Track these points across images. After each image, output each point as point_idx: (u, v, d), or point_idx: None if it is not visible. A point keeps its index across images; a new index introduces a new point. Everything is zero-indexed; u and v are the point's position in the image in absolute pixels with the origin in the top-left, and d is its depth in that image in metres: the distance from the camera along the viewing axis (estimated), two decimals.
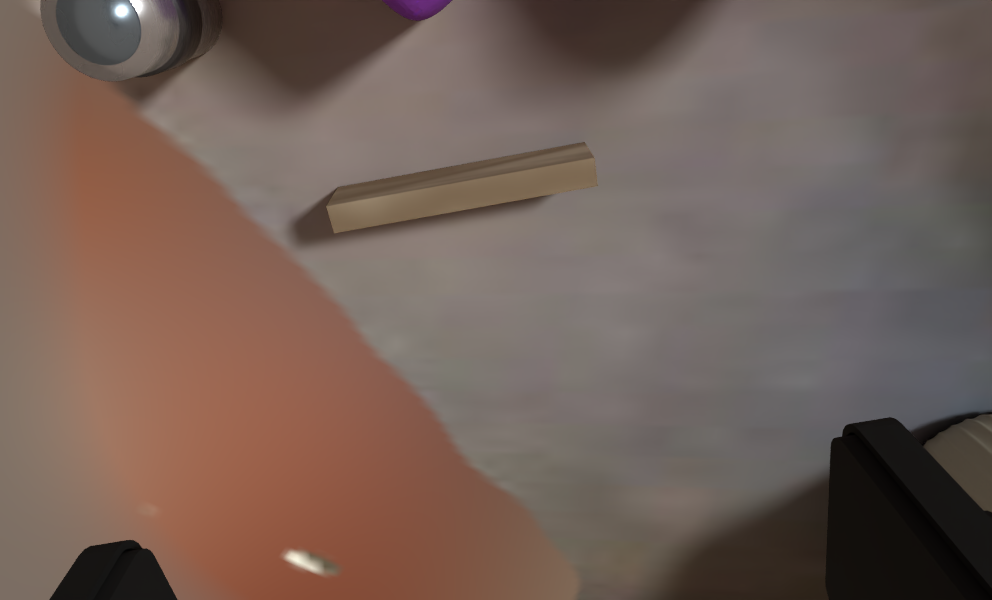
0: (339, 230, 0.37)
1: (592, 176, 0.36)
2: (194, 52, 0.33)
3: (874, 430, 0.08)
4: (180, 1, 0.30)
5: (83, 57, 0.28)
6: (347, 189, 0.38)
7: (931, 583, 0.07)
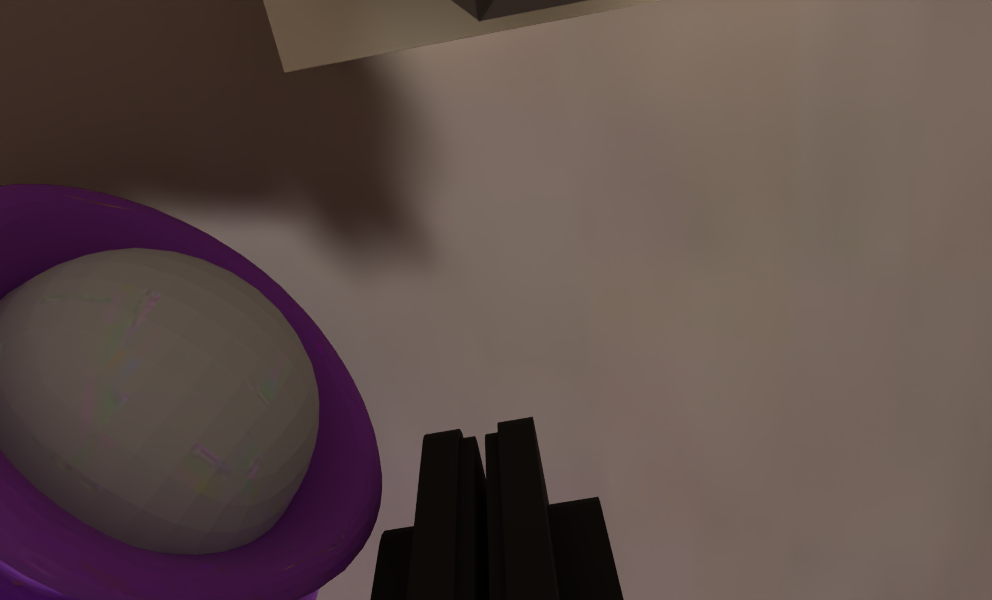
0: None
1: None
2: None
3: (509, 428, 0.10)
4: None
5: None
6: None
7: None
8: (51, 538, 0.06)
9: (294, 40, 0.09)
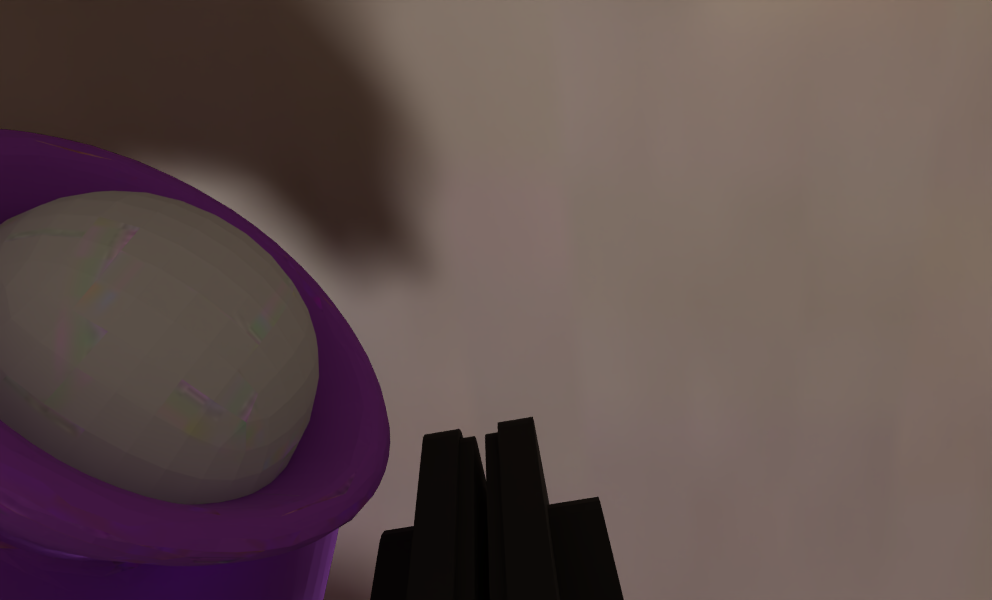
0: None
1: None
2: None
3: (509, 427, 0.10)
4: None
5: None
6: None
7: None
8: (22, 473, 0.06)
9: None
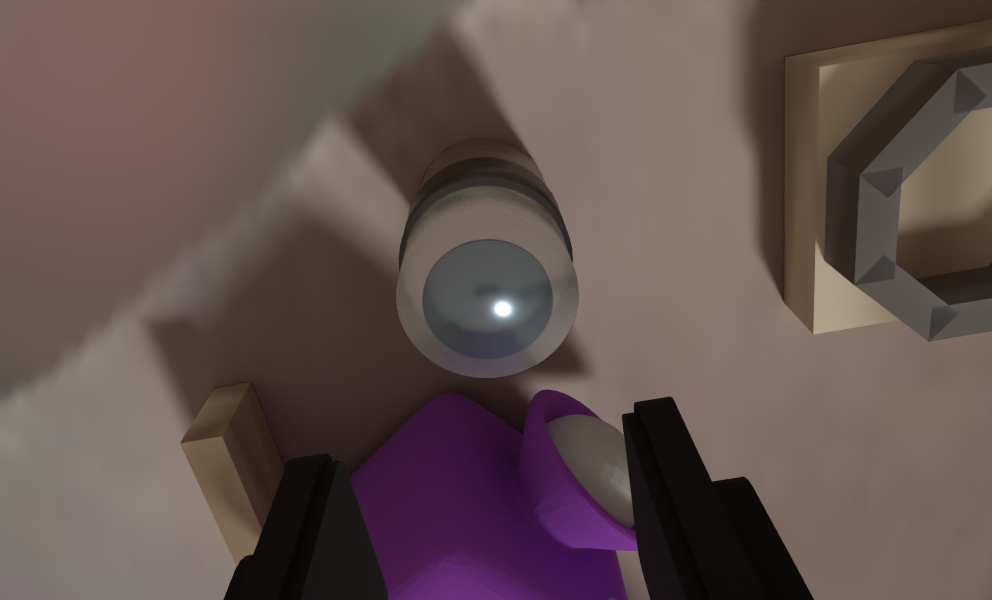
0: (186, 450, 0.24)
1: None
2: None
3: (650, 407, 0.10)
4: None
5: (432, 268, 0.17)
6: (250, 409, 0.27)
7: (658, 533, 0.08)
8: (616, 524, 0.21)
9: (820, 323, 0.24)
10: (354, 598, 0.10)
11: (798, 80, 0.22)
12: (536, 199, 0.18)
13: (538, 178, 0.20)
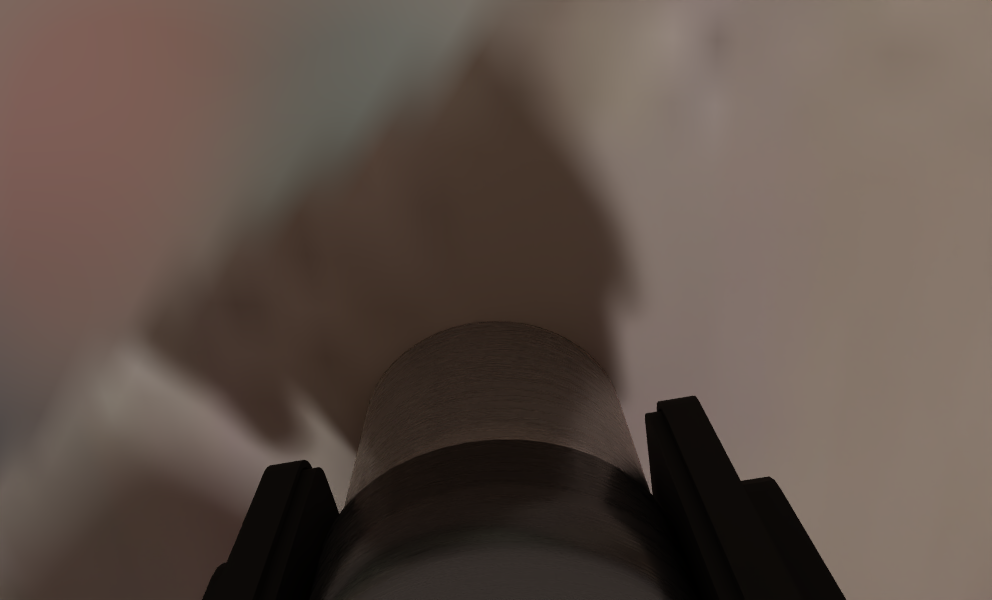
0: None
1: None
2: None
3: (675, 406, 0.09)
4: None
5: None
6: None
7: (687, 533, 0.08)
8: None
9: None
10: None
11: None
12: None
13: (635, 487, 0.08)
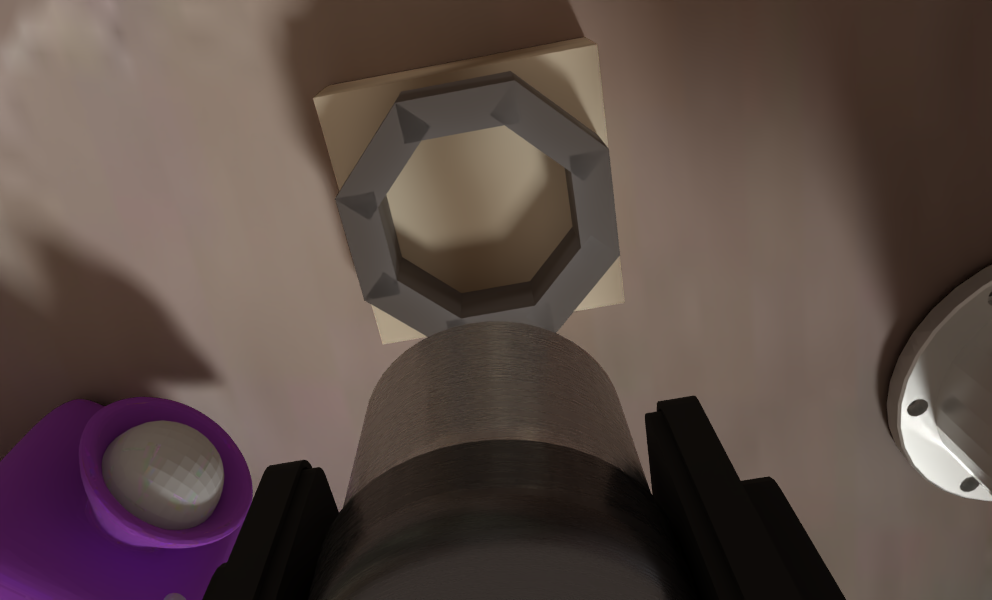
0: None
1: None
2: None
3: (674, 406, 0.09)
4: None
5: None
6: None
7: (686, 533, 0.08)
8: (133, 524, 0.22)
9: (387, 334, 0.26)
10: None
11: None
12: None
13: (636, 487, 0.08)
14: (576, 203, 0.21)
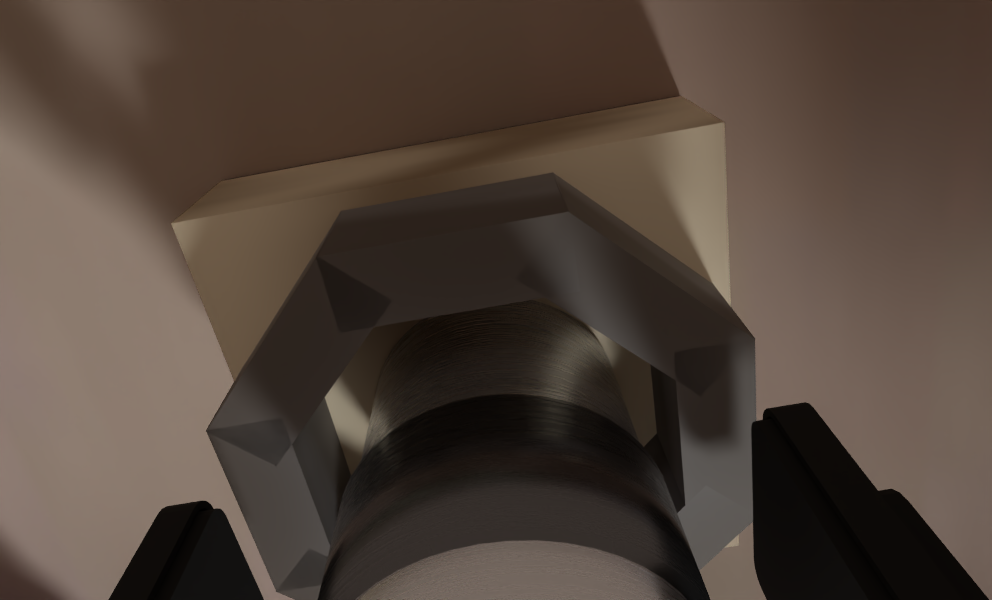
0: None
1: None
2: None
3: (788, 414, 0.09)
4: None
5: None
6: None
7: (823, 552, 0.07)
8: None
9: None
10: None
11: None
12: (650, 565, 0.07)
13: (628, 438, 0.09)
14: (682, 434, 0.11)
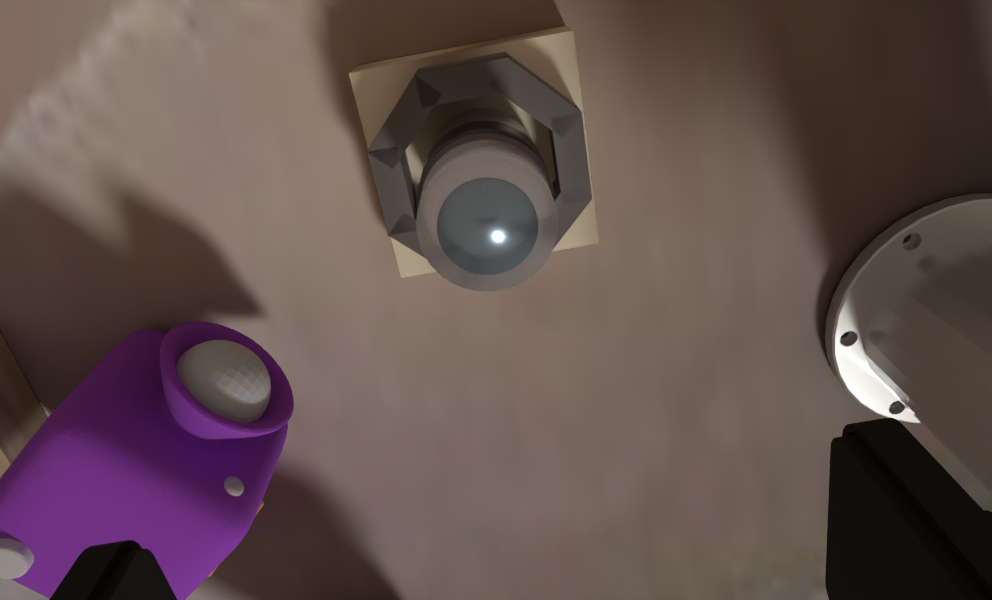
0: None
1: None
2: None
3: (874, 430, 0.08)
4: None
5: (445, 200, 0.22)
6: None
7: (931, 583, 0.07)
8: (205, 412, 0.28)
9: (404, 269, 0.31)
10: None
11: None
12: (525, 151, 0.23)
13: (528, 137, 0.25)
14: (556, 156, 0.27)
